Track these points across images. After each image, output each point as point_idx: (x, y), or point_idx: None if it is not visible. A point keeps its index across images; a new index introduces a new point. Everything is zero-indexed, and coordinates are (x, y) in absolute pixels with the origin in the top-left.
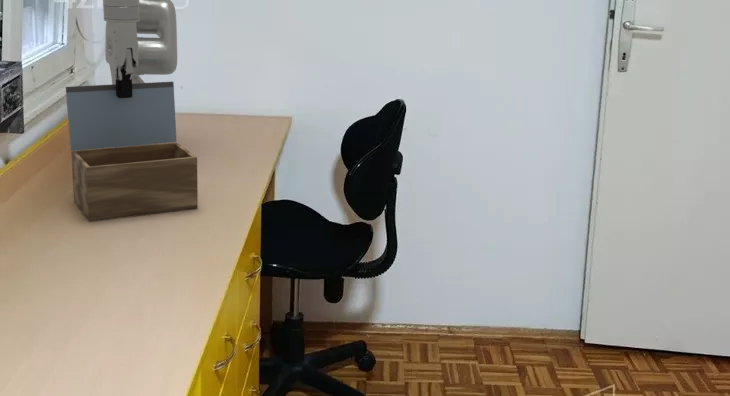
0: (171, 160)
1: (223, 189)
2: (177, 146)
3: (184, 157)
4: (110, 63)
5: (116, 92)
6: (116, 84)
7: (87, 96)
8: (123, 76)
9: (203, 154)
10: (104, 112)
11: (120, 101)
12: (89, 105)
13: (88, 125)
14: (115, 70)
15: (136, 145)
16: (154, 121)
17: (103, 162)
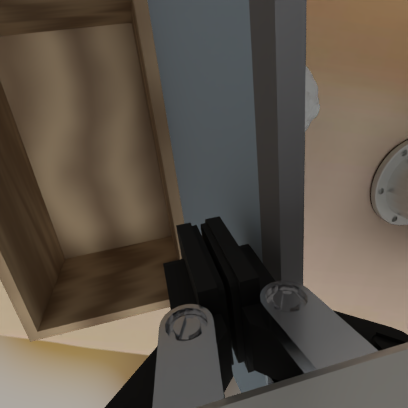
0: (2, 282)
1: (170, 308)
2: (161, 299)
3: (106, 302)
4: (308, 398)
5: (215, 227)
6: (225, 258)
7: (231, 15)
8: (126, 384)
9: (368, 291)
10: (203, 125)
11: (232, 221)
12: (209, 37)
13: (176, 38)
14: (331, 332)
15: (405, 194)
16: None
17: (148, 94)
